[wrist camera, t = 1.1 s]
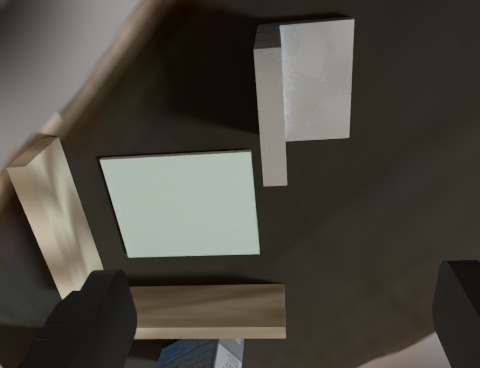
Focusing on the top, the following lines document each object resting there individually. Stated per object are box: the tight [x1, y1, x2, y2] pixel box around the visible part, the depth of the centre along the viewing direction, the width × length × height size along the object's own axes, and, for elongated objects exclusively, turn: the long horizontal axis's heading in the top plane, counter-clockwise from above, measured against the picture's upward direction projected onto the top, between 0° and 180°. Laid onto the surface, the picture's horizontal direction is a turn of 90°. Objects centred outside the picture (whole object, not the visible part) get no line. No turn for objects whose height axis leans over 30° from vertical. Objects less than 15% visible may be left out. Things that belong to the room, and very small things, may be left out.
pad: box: [100, 150, 260, 257], centre depth 34 cm, size 10×12×1 cm
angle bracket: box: [254, 17, 354, 186], centre depth 25 cm, size 8×6×8 cm
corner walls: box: [6, 137, 286, 339], centre depth 33 cm, size 17×18×5 cm
